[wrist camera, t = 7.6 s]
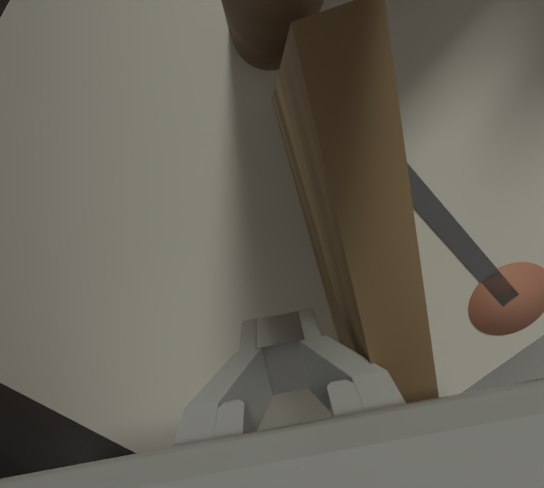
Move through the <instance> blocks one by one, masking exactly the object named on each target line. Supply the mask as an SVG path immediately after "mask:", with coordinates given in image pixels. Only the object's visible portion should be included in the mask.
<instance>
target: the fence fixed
mask: <svg viewBox="0 0 544 488" xmlns="http://www.w3.org/2000/svg"><path fill="white" fill-rule="evenodd" d="M221 1H222V5H223V9H224V13H225V17H226V21H227V25H228V29H229V32H230V36H231V39H232V42H233V44H234V47H235V49H236V50H237V52H238V53H239V54H240V56H241V57H242V58H243V59H244V60H245V61H246V62H247V63H249V64H250V65H252V66H254V67H256V68H258V69H262V70H277V69H279V68H280V64H281V60H282V56H283V52H284V48H285V44H286V40H287V36H288V32H289V28H290V24H291V22H294V21H297V20H299V19H302V18H305V17H308V16H311V15H314V14H316V13H319V11H320V9H321V7H322V4H323V2H324V0H221Z"/></svg>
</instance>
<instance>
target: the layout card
mask: <svg viewBox="0 0 544 488" xmlns="http://www.w3.org/2000/svg"><path fill="white" fill-rule="evenodd" d="M350 1H353V0H324V2H323V4H322V7H321V9H320V11H319V12H322V11H325V10H328V9H331V8H333V7H336V6H339V5H342V4H345V3H348V2H350ZM385 6H386V13H387V20H388V28H389V35H390V42H391V50H392V57H393V64H394V72H395V79H396V86H397V94H398V101H399V108H400V116H401V123H402V130H403V138H404V145H405V152H406V160H407V167H408V174H409V182H410V189H411V196H412V204H413V211H414V218H415V226H416V233H417V240H418V248H419V255H420V262H421V270H422V277H423V284H424V292H425V299H426V306H427V314H428V321H429V328H430V336H431V343H432V350H433V358H434V365H435V372H436V380H437V387H438V394H439V397H445V396H450V395H456V394H460V393H461V392H463V391H464V390H466V389H467V388H469V387H470V386H472V385H473V384H474V383H476V382H477V381H479V380H480V379H481V378H483V377H484V376H486V375H487V374H488V373H490V372H491V371H493V370H494V369H496V368H497V367H498V366H500V365H501V364H503V363H504V362H505V361H507V360H508V359H510V358H511V357H512V356H514V355H515V354H517V353H518V352H520V351H521V350H523V349H524V348H525V347H527V346H528V345H529V344H531V343H532V342H534V341H535V340H537V339H538V338H540V337H541V336H542V335H544V0H385ZM278 72H279V69H277V70H262V69H258V68H256V67H254V66H252V65H250V64H249V63H247V62H246V61H245V60H244V59H243V58H242V57H241V56H240V54H239V53H238V52H237V50H236V49H235V47H234V44H233V42H232V39H231V36H230V32H229V29H228V25H227V21H226V17H225V13H224V9H223V5H222V1H221V0H10V1H9V3H8V5H7V7H6V8H5V10H4V12H3V14H2V16H1V18H0V383H2V384H4V385H6V386H8V387H10V388H11V389H13V390H15V391H17V392H19V393H21V394H23V395H25V396H27V397H29V398H31V399H33V400H35V401H36V402H38V403H40V404H42V405H44V406H46V407H48V408H50V409H52V410H54V411H56V412H58V413H60V414H62V415H63V416H65V417H67V418H69V419H71V420H73V421H75V422H77V423H79V424H81V425H83V426H85V427H87V428H88V429H90V430H92V431H94V432H96V433H98V434H100V435H102V436H104V437H106V438H108V439H110V440H112V441H113V442H115V443H117V444H119V445H121V446H123V447H125V448H127V449H129V450H131V451H133V452H135V453H142V452H148V451H153V450H159V449H164V448H169V447H173V444H174V441H175V438H176V434H177V431H178V427H179V424H180V421H181V417H182V414H183V411H184V408H185V407H186V406H187V405H188V404H189V402H190V401H191V400H192V399H193V398H194V397H195V396H196V395H197V394H198V393H199V392H200V390H201V389H202V388H203V387H204V386H205V385H206V384H207V383H208V382H209V381H210V380H211V378H212V377H213V376H214V375H215V374H216V373H217V372H218V371H219V370H220V369H221V368H222V366H223V365H224V364H225V363H226V362H227V361H228V360H229V359H230V358H231V357H232V356H233V354H234V353H237V352H239V348H240V338H241V328H242V323H243V321H246V320H251V319H258V318H262V317H268V316H274V315H280V314H286V313H290V312H295V311H299V310H303V309H308V308H312V309H313V311H314V314H315V317H316V320H317V323H318V326H319V328H320V331H321V334H322V336H328V337H330V338H332V339H333V340H335V341H337V342H339V341H338V338H337V334H336V331H335V327H334V323H333V320H332V316H331V312H330V309H329V305H328V302H327V298H326V294H325V291H324V287H323V284H322V280H321V276H320V273H319V269H318V265H317V262H316V258H315V255H314V251H313V247H312V244H311V240H310V236H309V233H308V229H307V226H306V222H305V218H304V215H303V211H302V207H301V204H300V200H299V197H298V193H297V189H296V186H295V182H294V179H293V175H292V171H291V168H290V164H289V160H288V157H287V153H286V150H285V146H284V142H283V139H282V135H281V131H280V128H279V124H278V121H277V117H276V113H275V110H274V106H273V102H272V96H273V92H274V88H275V84H276V80H277V76H278ZM330 417H332V415H331V412H330V411H329V410H328V409H327V408H326V407H325V406H324V404H323V403H322V402H321V401H320V400H319V399H318V398H317V397H316V396H315V395H314V394H313V393H312V392H311V391H310V390H309V389H302V390H296V391H290V392H286V393H281V394H276V395H273V399H272V401H271V403H270V405H269V407H268V409H267V411H266V413H265V415H264V417H263V419H262V421H261V423H260V425H259V427H258V429H257V431H261V430H266V429H272V428H277V427H282V426H288V425H293V424H298V423H304V422H309V421H314V420H320V419H325V418H330Z"/></svg>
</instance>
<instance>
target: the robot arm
mask: <svg viewBox="0 0 544 488" xmlns="http://www.w3.org/2000/svg"><path fill="white" fill-rule="evenodd" d="M302 389H309V390H310V391H311V392H312V393H313V394H314V395H315V396H316V397H317V398H318V399H319V400H320V401H321V402H322V403H323V404H324V406H325V407H326V408H327V409H328V410H329V411H330V412H331V415H332V417H330V418H325V419H320V420H314V421H309V422H304V423H298V424H293V425H288V426H282V427H277V428H272V429H266V430H261V431H257V429H258V427H259V425H260V423H261V421H262V419H263V417H264V415H265V413H266V411H267V409H268V407H269V405H270V403H271V401H272V399H273V395H276V394H281V393H286V392H290V391H296V390H302ZM0 488H544V378H541V379H536V380H530V381H525V382H519V383H514V384H509V385H504V386H498V387H493V388H488V389H483V390H477V391H472V392H466V393H461V394H456V395H450V396H445V397H439V398H434V399H428V400H423V401H418V402H412V403H407V404H406V402H405V400H404V399H403V397H402V395H401V393H400V392H399V390H398V388H397V387H396V385H395V383H394V381H393V380H392V378H391V376H390V374H389V373H388V371H387V370H385V369H384V368H382V367H380V366H378V365H377V364H371V363H370V361H369V360H368V359H366V358H365V357H363V356H361V355H359V354H358V353H356V352H354V351H352V350H351V349H349V348H347V347H346V346H344V345H342V344H340V343H339V342H337V341H335V340H333V339H332V338H330V337H328V336H322V334H321V331H320V328H319V326H318V323H317V320H316V317H315V314H314V311H313V309H312V308H308V309H303V310H299V311H295V312H290V313H286V314H280V315H274V316H268V317H262V318H258V319H251V320H246V321H243V323H242V328H241V338H240V348H239V352H237V353H234V354H233V356H232V357H231V358H230V359H229V360H228V361H227V362H226V363H225V364H224V365H223V366H222V368H221V369H220V370H219V371H218V372H217V373H216V374H215V375H214V376H213V377H212V378H211V380H210V381H209V382H208V383H207V384H206V385H205V386H204V387H203V388H202V389H201V390H200V392H199V393H198V394H197V395H196V396H195V397H194V398H193V399H192V400H191V401H190V402H189V404H188V405H187V406H186V407H185V408H184V411H183V414H182V417H181V421H180V424H179V427H178V431H177V434H176V438H175V441H174V444H173V447H169V448H164V449H159V450H153V451H148V452H142V453H137V454H131V455H126V456H121V457H115V458H110V459H104V460H99V461H94V462H88V463H83V464H77V465H72V466H66V467H61V468H56V469H50V470H45V471H39V472H34V473H29V474H23V475H18V476H12V477H7V478H1V479H0Z"/></svg>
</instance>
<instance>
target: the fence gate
mask: <svg viewBox="0 0 544 488" xmlns="http://www.w3.org/2000/svg"><path fill="white" fill-rule="evenodd" d="M272 102H273V106H274V110H275V113H276V117H277V121H278V124H279V128H280V131H281V135H282V139H283V142H284V146H285V150H286V153H287V157H288V160H289V164H290V168H291V171H292V175H293V179H294V182H295V186H296V189H297V193H298V197H299V200H300V204H301V207H302V211H303V215H304V218H305V222H306V226H307V229H308V233H309V236H310V240H311V244H312V247H313V251H314V255H315V258H316V262H317V265H318V269H319V273H320V276H321V280H322V284H323V287H324V291H325V294H326V298H327V302H328V305H329V309H330V312H331V316H332V320H333V323H334V327H335V331H336V334H337V338H338V341H339V343H340V344H342V345H344V346H346V347H347V348H349V349H351V350H352V351H354V352H356V353H358V354H359V355H361V356H363V357H365V358H366V359H368V360H369V361H370V363H371V364H377V365H378V366H380V367H382V368H384V369H385V370H387V371H388V373H389V374H390V376H391V378H392V380H393V381H394V383H395V385H396V387H397V388H398V390H399V392H400V393H401V395H402V397H403V399H404V400H405V402H406V404H407V403H412V402H418V401H423V400H428V399H434V398H439V394H438V387H437V380H436V372H435V365H434V358H433V350H432V343H431V336H430V328H429V321H428V314H427V306H426V299H425V292H424V284H423V277H422V270H421V262H420V255H419V248H418V240H417V233H416V226H415V218H414V211H413V204H412V196H411V189H410V182H409V174H408V167H407V160H406V152H405V145H404V138H403V130H402V123H401V116H400V108H399V101H398V94H397V86H396V79H395V72H394V64H393V57H392V50H391V42H390V35H389V28H388V20H387V13H386V6H385V0H353V1H350V2H348V3H345V4H342V5H339V6H336V7H333V8H331V9H328V10H325V11H322V12H319V13H316V14H314V15H311V16H308V17H305V18H302V19H299V20H297V21H294V22H291V24H290V28H289V32H288V36H287V40H286V44H285V48H284V52H283V56H282V60H281V64H280V68H279V72H278V76H277V80H276V84H275V88H274V92H273V96H272Z"/></svg>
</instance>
